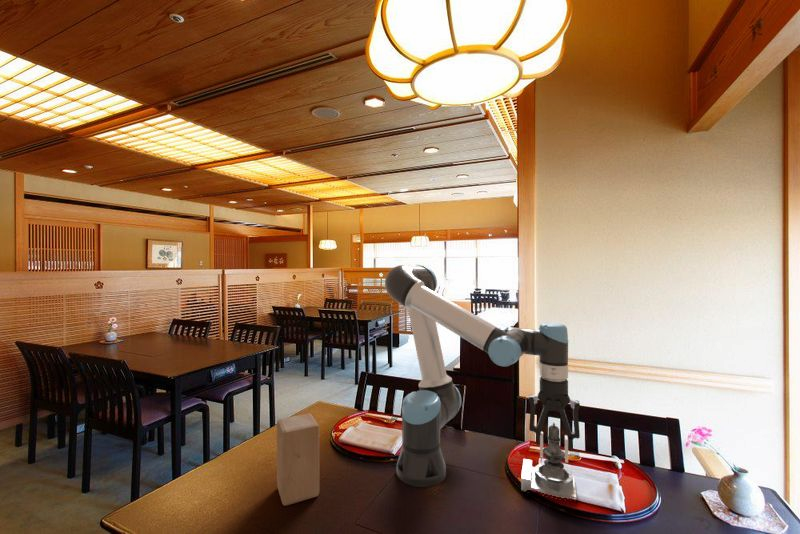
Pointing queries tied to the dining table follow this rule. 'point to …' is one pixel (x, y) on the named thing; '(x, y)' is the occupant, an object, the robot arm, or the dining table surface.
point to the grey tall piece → (554, 449)
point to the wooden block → (297, 458)
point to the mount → (547, 480)
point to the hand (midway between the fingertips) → (553, 457)
